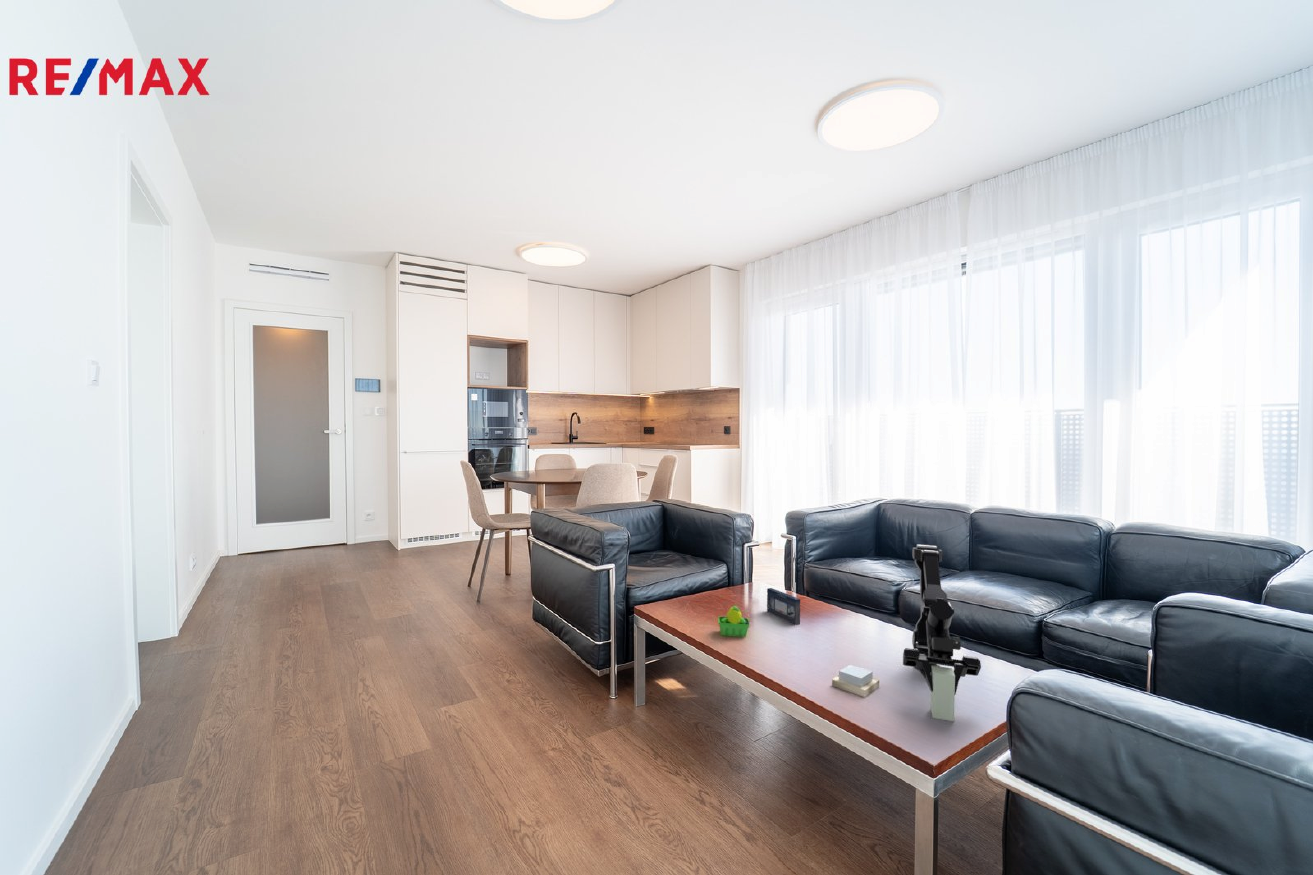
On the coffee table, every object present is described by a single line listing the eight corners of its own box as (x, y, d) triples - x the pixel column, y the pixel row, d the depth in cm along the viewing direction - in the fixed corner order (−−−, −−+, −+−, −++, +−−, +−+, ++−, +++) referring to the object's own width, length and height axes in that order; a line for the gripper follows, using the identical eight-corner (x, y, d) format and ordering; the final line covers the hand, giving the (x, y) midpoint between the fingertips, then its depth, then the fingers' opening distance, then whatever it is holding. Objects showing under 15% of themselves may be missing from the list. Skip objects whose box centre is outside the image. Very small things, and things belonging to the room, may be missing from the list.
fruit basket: (748, 631, 211) (748, 601, 211) (749, 639, 202) (750, 608, 202) (717, 629, 212) (718, 600, 212) (718, 638, 203) (718, 607, 203)
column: (930, 709, 152) (931, 665, 152) (951, 712, 150) (951, 668, 150) (932, 718, 147) (933, 672, 147) (954, 721, 145) (955, 675, 145)
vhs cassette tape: (766, 611, 235) (766, 588, 235) (772, 610, 236) (772, 587, 236) (794, 625, 218) (795, 600, 218) (800, 624, 220) (801, 599, 220)
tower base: (847, 677, 172) (847, 669, 172) (879, 688, 165) (879, 679, 165) (832, 687, 165) (832, 679, 165) (864, 699, 158) (864, 690, 158)
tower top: (850, 672, 170) (850, 664, 170) (872, 680, 165) (872, 671, 165) (838, 679, 165) (838, 670, 165) (861, 687, 160) (861, 678, 160)
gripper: (904, 619, 155) (907, 674, 145) (980, 628, 149) (988, 686, 139) (901, 637, 163) (904, 691, 152) (973, 647, 156) (981, 703, 146)
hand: (943, 692), depth 147 cm, fingers closed on column, 5 cm apart
